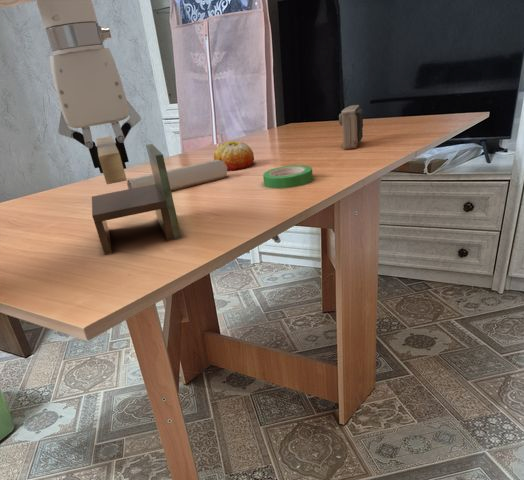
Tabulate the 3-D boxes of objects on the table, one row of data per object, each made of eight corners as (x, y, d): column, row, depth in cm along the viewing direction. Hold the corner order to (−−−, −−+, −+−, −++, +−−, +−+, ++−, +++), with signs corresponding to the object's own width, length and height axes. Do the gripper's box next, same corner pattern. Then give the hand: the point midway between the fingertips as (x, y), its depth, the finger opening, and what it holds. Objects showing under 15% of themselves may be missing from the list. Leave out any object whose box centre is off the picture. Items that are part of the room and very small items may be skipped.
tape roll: (286, 192, 100) (285, 179, 98) (254, 186, 107) (253, 174, 106) (323, 179, 105) (322, 167, 104) (290, 175, 113) (289, 163, 111)
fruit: (207, 172, 126) (205, 140, 124) (227, 174, 135) (226, 144, 133) (243, 170, 121) (242, 136, 119) (261, 172, 130) (261, 141, 128)
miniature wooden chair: (105, 256, 78) (77, 170, 71) (103, 232, 91) (79, 156, 83) (182, 239, 81) (162, 154, 74) (169, 218, 93) (152, 143, 86)
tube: (219, 159, 120) (125, 180, 111) (226, 154, 115) (129, 175, 106) (225, 181, 121) (132, 203, 112) (233, 176, 116) (136, 199, 107)
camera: (345, 142, 140) (344, 105, 134) (365, 141, 138) (365, 103, 132) (338, 150, 131) (337, 111, 125) (359, 149, 129) (359, 109, 124)
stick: (106, 184, 69) (98, 156, 67) (102, 161, 89) (95, 138, 87) (126, 180, 70) (119, 152, 68) (118, 158, 89) (112, 136, 87)
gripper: (129, 35, 74) (158, 157, 84) (21, 50, 71) (64, 175, 81) (132, 31, 68) (163, 163, 78) (15, 47, 65) (62, 183, 75)
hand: (112, 168), depth 79 cm, fingers closed on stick, 3 cm apart
